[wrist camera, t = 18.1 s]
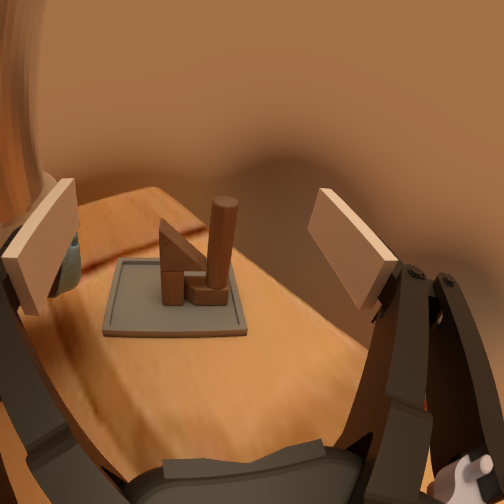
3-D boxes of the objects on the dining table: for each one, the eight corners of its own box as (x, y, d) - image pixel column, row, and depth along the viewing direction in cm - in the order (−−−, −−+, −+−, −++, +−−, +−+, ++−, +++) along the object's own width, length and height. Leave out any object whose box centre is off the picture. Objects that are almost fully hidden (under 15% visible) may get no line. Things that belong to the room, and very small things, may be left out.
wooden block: (163, 291, 47) (160, 192, 37) (224, 291, 50) (238, 195, 40) (162, 306, 44) (158, 204, 34) (227, 306, 47) (242, 206, 37)
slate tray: (104, 336, 38) (101, 329, 37) (119, 263, 52) (118, 257, 51) (246, 335, 43) (247, 329, 42) (229, 264, 58) (230, 258, 57)
